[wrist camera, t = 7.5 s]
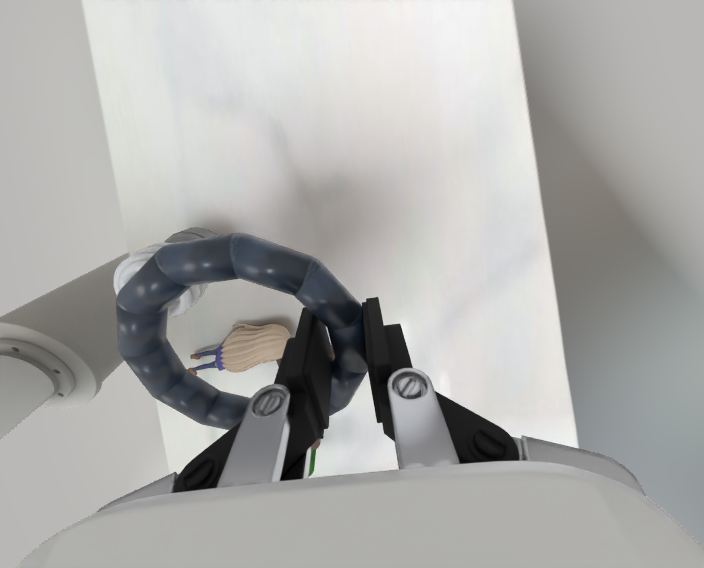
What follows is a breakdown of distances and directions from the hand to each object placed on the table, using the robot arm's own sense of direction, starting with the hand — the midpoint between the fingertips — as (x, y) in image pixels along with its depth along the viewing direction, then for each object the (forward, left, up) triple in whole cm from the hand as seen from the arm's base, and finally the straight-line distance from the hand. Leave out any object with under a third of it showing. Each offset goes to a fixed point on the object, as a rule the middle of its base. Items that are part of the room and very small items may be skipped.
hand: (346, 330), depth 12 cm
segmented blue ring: (-4, 0, +1) cm, 4 cm away
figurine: (-17, -14, -19) cm, 28 cm away
